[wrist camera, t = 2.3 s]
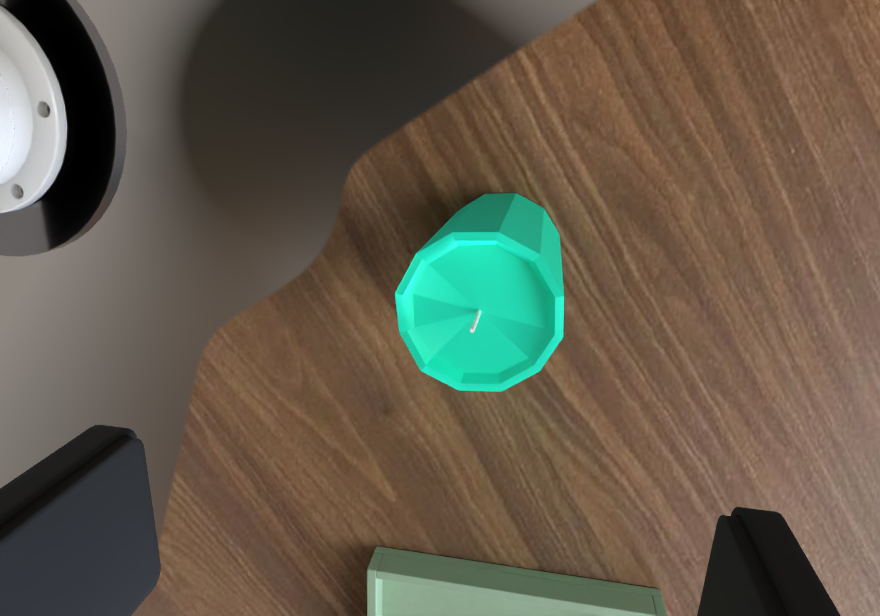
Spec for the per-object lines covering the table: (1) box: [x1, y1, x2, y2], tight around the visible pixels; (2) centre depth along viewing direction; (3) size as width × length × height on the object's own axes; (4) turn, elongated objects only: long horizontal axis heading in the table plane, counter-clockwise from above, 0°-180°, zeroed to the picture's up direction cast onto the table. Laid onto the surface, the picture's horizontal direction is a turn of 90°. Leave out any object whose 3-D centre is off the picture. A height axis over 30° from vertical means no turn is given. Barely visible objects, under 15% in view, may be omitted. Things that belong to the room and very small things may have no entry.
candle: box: [395, 193, 564, 391], centre depth 25 cm, size 6×6×12 cm
